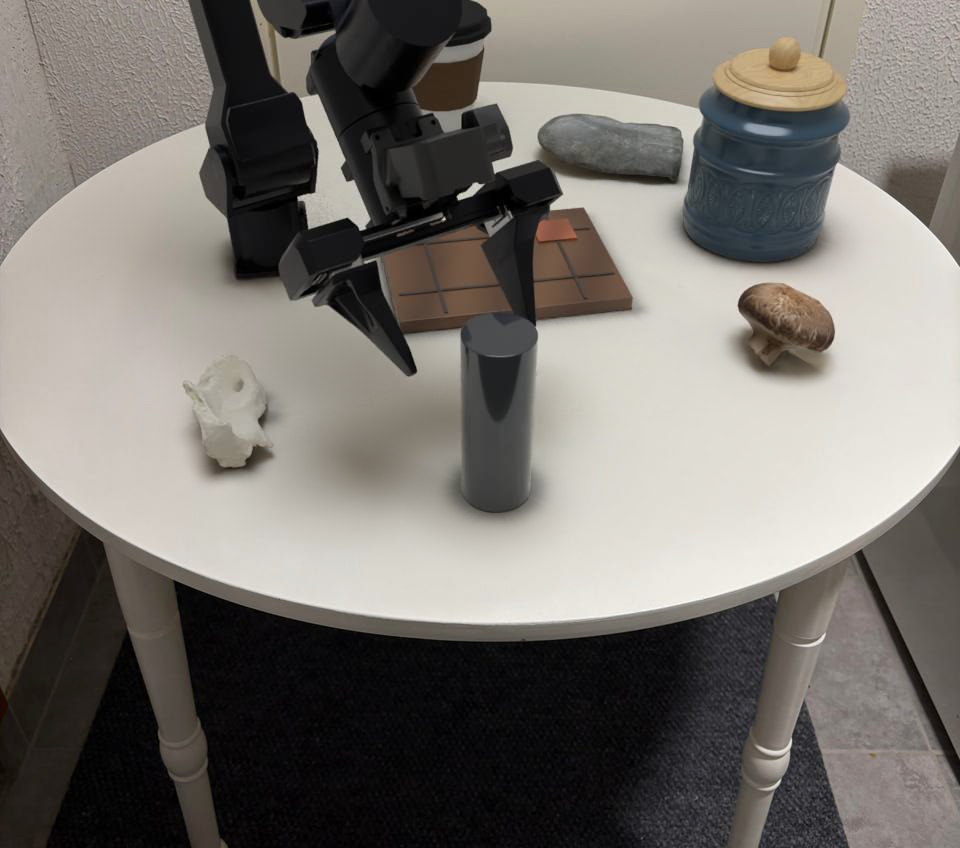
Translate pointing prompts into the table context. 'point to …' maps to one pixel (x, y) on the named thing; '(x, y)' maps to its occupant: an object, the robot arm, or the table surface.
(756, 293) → the mushroom
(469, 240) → the board
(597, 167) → the stone
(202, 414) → the coral
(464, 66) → the coffee cup
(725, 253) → the canister
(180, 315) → the table surface
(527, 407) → the dark grey cylinder
